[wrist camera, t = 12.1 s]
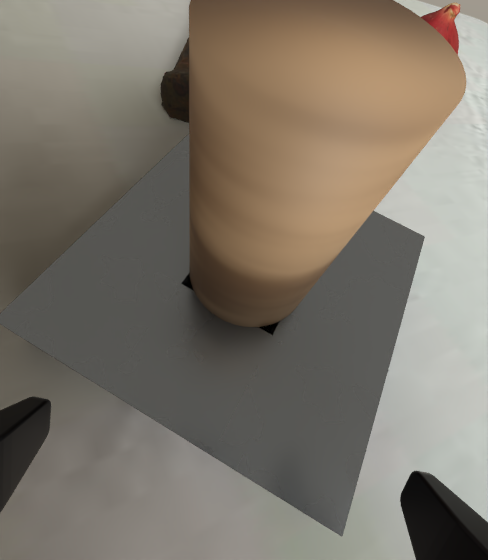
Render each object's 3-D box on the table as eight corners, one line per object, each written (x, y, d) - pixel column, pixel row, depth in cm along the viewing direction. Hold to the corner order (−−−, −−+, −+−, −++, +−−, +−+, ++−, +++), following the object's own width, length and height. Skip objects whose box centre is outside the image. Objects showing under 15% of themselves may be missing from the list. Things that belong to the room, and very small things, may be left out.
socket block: (313, 518, 14) (342, 536, 11) (26, 340, 15) (-7, 319, 13) (395, 261, 21) (424, 236, 19) (198, 159, 23) (199, 123, 20)
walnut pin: (302, 336, 17) (520, 132, 6) (193, 348, 16) (204, 118, 5) (280, 246, 20) (401, -15, 8) (185, 250, 19) (180, -50, 7)
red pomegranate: (365, 110, 29) (420, 6, 22) (367, 77, 32) (416, -23, 25) (423, 127, 30) (495, 29, 23) (419, 93, 32) (483, -3, 25)
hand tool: (210, 133, 25) (214, 73, 21) (161, 119, 25) (156, 56, 21) (251, 26, 34) (260, -30, 30) (216, 15, 34) (220, -43, 30)
